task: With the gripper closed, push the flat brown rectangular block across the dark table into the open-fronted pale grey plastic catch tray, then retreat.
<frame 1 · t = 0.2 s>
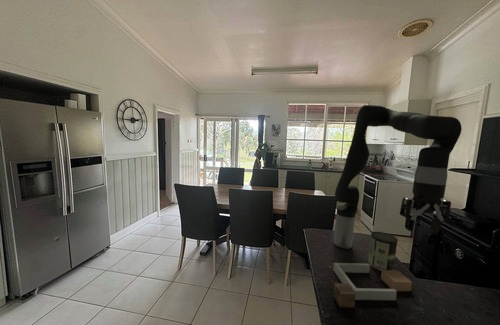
hand: (421, 230, 65), 29 cm above the countertop, fingers open, 8 cm apart
walnut block: (343, 301, 71), on the countertop
brown rectangular block: (395, 285, 81), on the countertop
catch tray: (361, 283, 81), on the countertop
coffee can: (380, 265, 94), on the countertop
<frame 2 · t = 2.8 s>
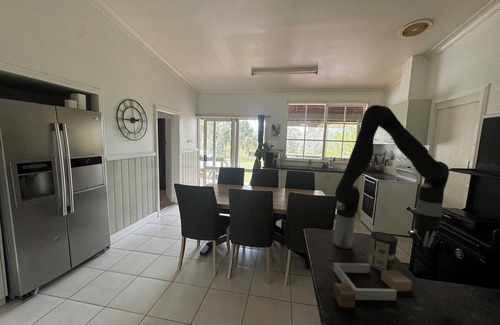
hand: (422, 254, 80), 13 cm above the countertop, fingers closed
nothing on the countertop moved.
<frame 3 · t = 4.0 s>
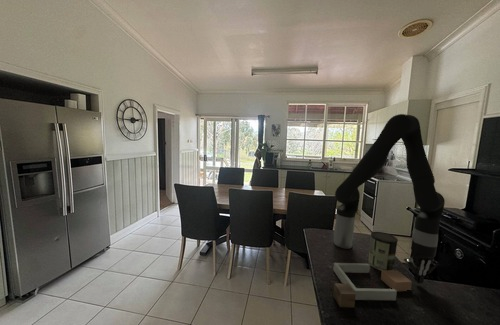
hand: (418, 282, 81), 1 cm above the countertop, fingers closed
nothing on the countertop moved.
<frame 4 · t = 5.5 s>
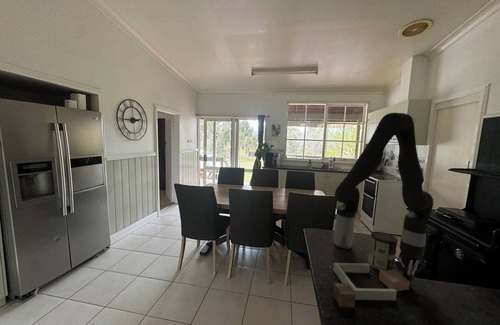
hand: (406, 281, 81), 1 cm above the countertop, fingers closed
nothing on the countertop moved.
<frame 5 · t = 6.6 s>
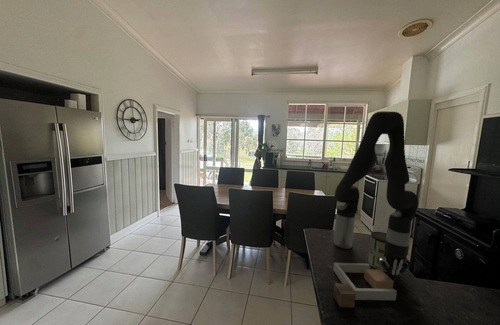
hand: (391, 281, 81), 1 cm above the countertop, fingers closed
brown rectangular block: (377, 284, 81), on the countertop, touching gripper
everything else where it was.
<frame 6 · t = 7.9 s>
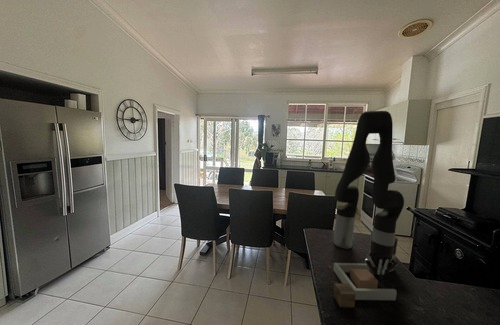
hand: (377, 281, 81), 1 cm above the countertop, fingers closed
brown rectangular block: (362, 283, 81), on the countertop
everything else where it was.
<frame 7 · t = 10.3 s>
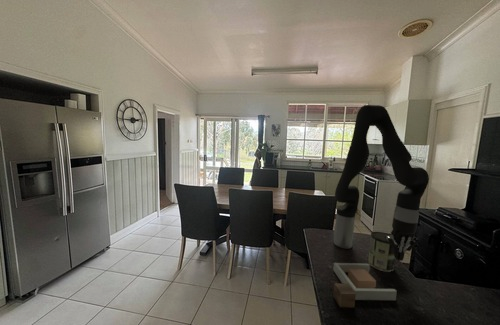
hand: (398, 259, 81), 11 cm above the countertop, fingers closed
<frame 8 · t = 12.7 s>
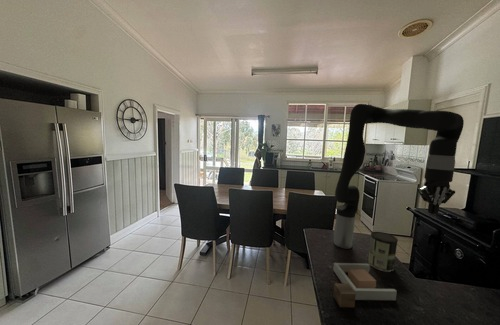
hand: (432, 213, 75), 31 cm above the countertop, fingers closed
nothing on the countertop moved.
at the end: brown rectangular block 0.3 cm from the catch tray (horizontally); brown rectangular block tilted 0°; brown rectangular block moved 14.1 cm from its start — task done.
